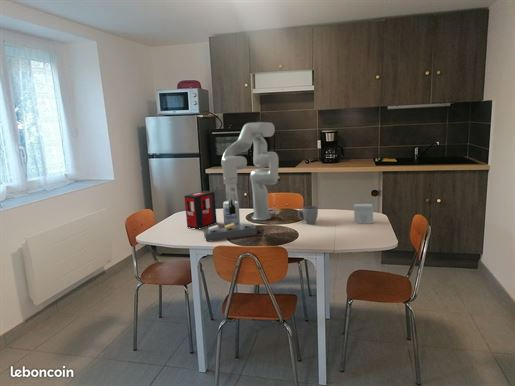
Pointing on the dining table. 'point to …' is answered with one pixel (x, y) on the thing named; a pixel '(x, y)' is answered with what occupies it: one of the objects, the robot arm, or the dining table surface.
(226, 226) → the rocker middle
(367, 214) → the skincare box
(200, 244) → the dining table surface
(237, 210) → the supplement tub
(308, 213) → the mug
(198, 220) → the cleaning product box
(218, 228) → the rocker
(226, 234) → the power strip
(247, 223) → the rocker
